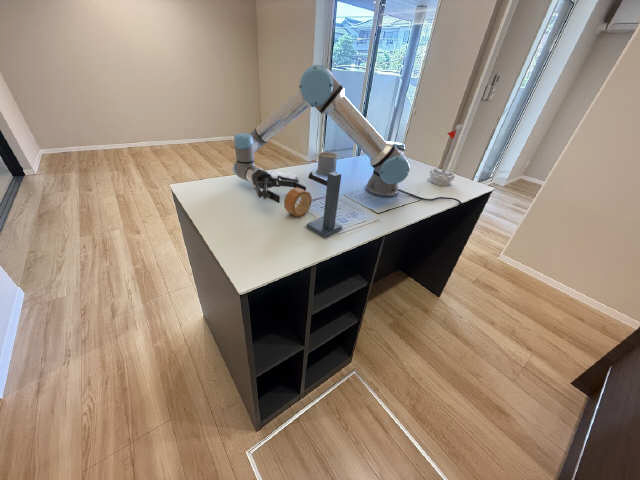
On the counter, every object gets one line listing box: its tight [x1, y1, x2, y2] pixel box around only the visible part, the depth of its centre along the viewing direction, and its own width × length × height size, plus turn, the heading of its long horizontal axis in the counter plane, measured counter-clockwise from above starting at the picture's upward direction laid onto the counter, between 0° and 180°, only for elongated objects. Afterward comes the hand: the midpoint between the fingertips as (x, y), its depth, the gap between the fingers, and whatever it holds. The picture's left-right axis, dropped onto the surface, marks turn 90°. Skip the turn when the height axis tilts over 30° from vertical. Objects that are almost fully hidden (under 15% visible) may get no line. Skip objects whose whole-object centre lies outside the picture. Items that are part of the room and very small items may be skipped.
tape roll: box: [283, 187, 313, 218], centre depth 95 cm, size 10×5×10 cm, turn 137°
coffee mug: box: [317, 151, 338, 177], centre depth 137 cm, size 13×10×10 cm
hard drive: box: [270, 170, 298, 179], centre depth 126 cm, size 2×8×12 cm
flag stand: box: [428, 124, 463, 187], centre depth 133 cm, size 13×13×30 cm
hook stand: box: [306, 171, 343, 239], centre depth 86 cm, size 9×13×21 cm
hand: (292, 194), depth 96 cm, fingers open, 13 cm apart
